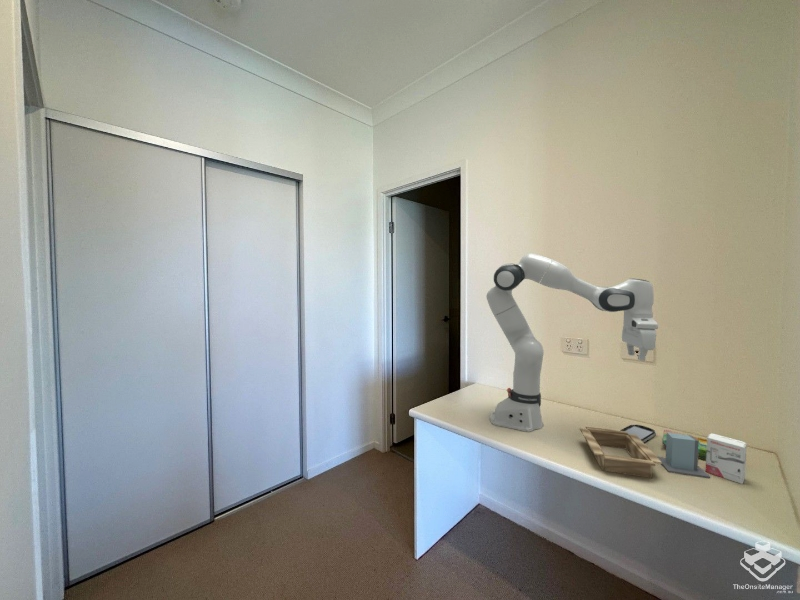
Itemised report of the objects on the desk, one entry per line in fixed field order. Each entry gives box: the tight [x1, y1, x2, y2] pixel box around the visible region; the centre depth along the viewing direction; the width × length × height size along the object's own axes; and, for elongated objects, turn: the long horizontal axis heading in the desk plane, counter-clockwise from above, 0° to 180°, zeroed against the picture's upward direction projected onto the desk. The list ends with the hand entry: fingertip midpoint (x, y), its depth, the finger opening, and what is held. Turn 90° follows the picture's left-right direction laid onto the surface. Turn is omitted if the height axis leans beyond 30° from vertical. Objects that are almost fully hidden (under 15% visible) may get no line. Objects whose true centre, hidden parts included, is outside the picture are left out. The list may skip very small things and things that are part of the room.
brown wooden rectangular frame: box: [579, 426, 662, 479], centre depth 112 cm, size 24×19×6 cm
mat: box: [656, 456, 711, 479], centre depth 106 cm, size 11×9×1 cm
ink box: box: [705, 433, 747, 484], centre depth 102 cm, size 9×5×12 cm, turn 38°
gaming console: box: [619, 424, 657, 444], centre depth 129 cm, size 19×9×3 cm, turn 123°
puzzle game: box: [662, 429, 707, 460], centre depth 116 cm, size 12×5×20 cm
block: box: [665, 433, 699, 471], centre depth 106 cm, size 7×4×10 cm, turn 73°
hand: (636, 357), depth 121 cm, fingers open, 8 cm apart
